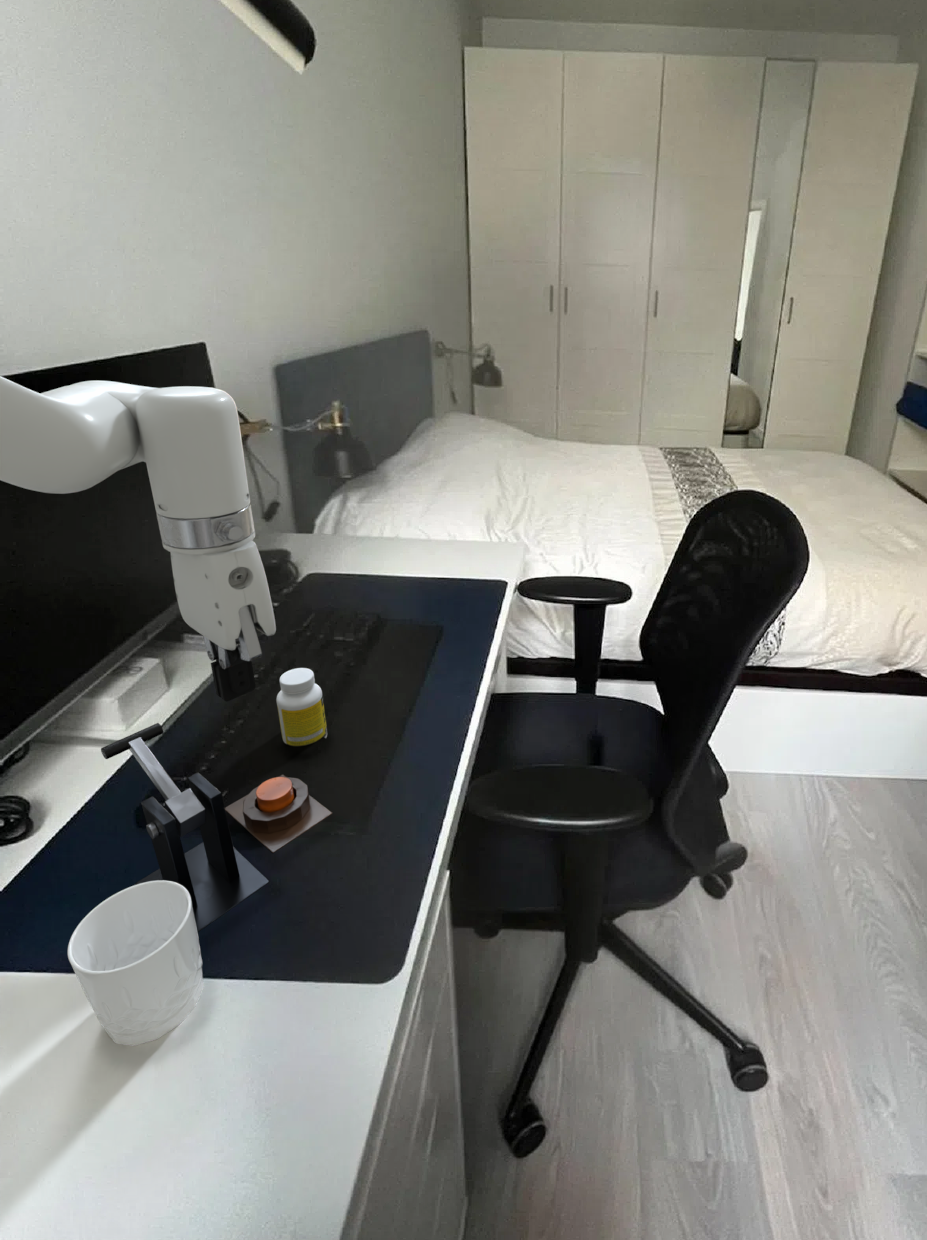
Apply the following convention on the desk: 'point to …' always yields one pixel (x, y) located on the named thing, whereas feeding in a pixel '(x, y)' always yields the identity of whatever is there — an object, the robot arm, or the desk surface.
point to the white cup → (140, 961)
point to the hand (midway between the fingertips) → (236, 692)
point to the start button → (275, 794)
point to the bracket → (202, 857)
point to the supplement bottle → (301, 708)
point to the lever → (161, 779)
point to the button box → (279, 816)
